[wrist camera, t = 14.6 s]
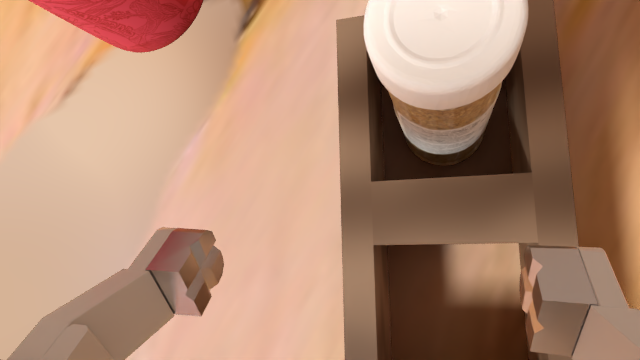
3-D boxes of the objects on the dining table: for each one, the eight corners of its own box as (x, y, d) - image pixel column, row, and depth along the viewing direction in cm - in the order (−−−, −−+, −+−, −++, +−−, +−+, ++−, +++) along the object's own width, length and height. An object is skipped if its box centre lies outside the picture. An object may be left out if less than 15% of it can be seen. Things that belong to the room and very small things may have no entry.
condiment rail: (565, 414, 21) (601, 465, 16) (366, 396, 24) (346, 437, 19) (530, 34, 24) (551, -16, 19) (355, 58, 27) (336, 19, 22)
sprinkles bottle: (422, 81, 25) (398, -80, 12) (499, 106, 24) (561, -47, 11) (391, 151, 25) (335, 62, 12) (466, 180, 24) (489, 114, 11)
